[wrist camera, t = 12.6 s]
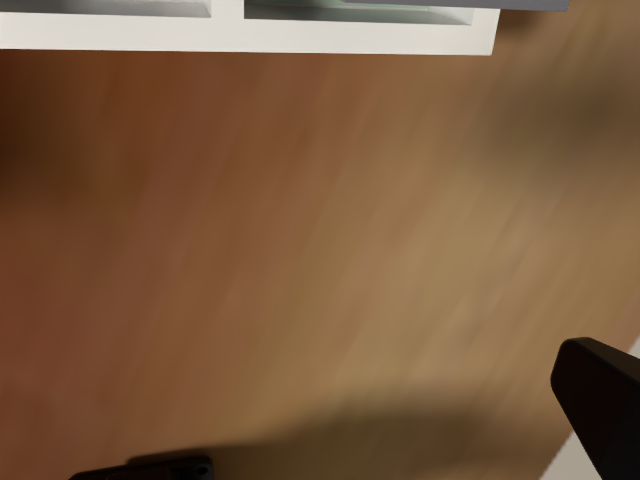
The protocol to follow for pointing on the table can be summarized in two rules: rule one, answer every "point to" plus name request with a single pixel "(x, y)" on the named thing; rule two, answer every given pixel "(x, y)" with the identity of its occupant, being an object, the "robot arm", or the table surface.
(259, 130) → the table surface
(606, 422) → the robot arm
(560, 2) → the grey rectangular block
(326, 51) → the dock
